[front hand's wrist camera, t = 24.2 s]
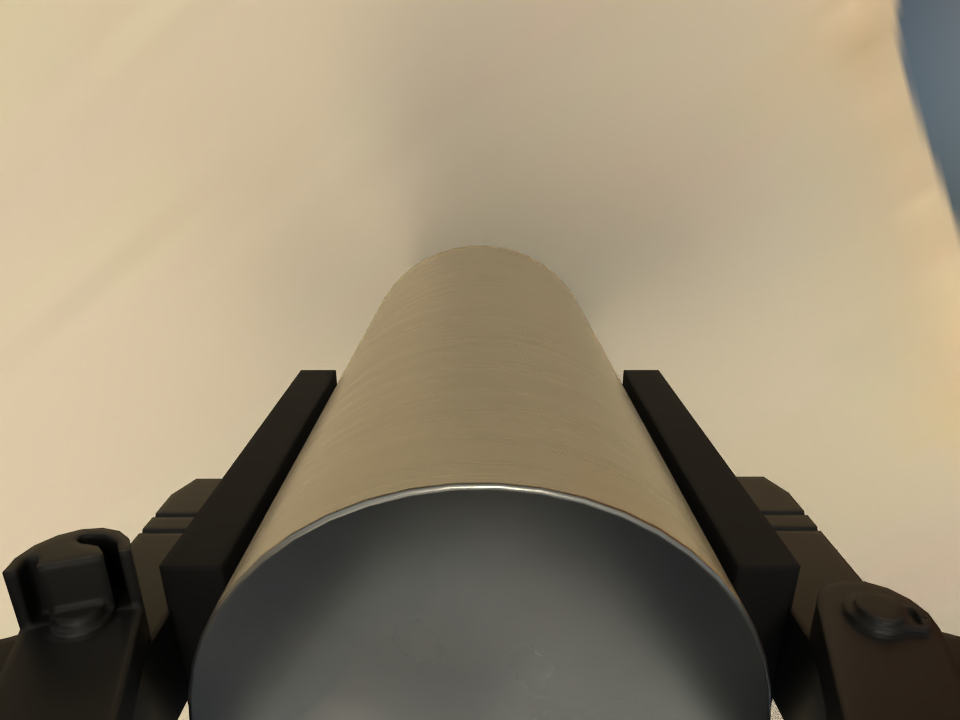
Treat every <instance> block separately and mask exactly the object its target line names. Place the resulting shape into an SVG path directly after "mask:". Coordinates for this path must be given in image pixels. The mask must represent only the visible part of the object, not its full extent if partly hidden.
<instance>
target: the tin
mask: <svg viewBox="0 0 960 720" xmlns="http://www.w3.org/2000/svg"><path fill="white" fill-rule="evenodd" d="M188 703H189V720H770V718H771V684H770V678H769V672H768V666H767V659H766V655H765V653H764V650H763V647H762V644H761V641H760V639H759V636H758V633H757V630H756V628H755V626H754V624H753V622H752V620H751V619H750V617H749V615H748V613H747V611H746V609H745V608H744V606H743V604H742V602H741V600H740V598H739V597H738V595H737V593H736V591H735V589H734V588H733V586H732V584H731V582H730V580H729V578H728V577H727V575H726V573H725V571H724V569H723V567H722V566H721V564H720V562H719V560H718V558H717V557H716V555H715V553H714V551H713V549H712V547H711V546H710V544H709V542H708V540H707V538H706V536H705V535H704V533H703V531H702V529H701V527H700V526H699V524H698V522H697V520H696V518H695V516H694V515H693V513H692V511H691V509H690V507H689V505H688V504H687V502H686V500H685V498H684V496H683V495H682V493H681V491H680V489H679V487H678V485H677V484H676V482H675V480H674V478H673V476H672V474H671V473H670V471H669V469H668V467H667V465H666V464H665V462H664V460H663V458H662V456H661V454H660V453H659V451H658V449H657V447H656V445H655V444H654V442H653V440H652V438H651V436H650V434H649V433H648V431H647V429H646V427H645V425H644V423H643V422H642V420H641V418H640V416H639V414H638V413H637V411H636V409H635V407H634V405H633V403H632V402H631V400H630V398H629V396H628V394H627V392H626V391H625V389H624V387H623V385H622V383H621V382H620V380H619V378H618V376H617V374H616V372H615V371H614V369H613V367H612V365H611V363H610V361H609V360H608V358H607V356H606V354H605V352H604V351H603V349H602V347H601V345H600V343H599V341H598V340H597V338H596V336H595V334H594V332H593V330H592V329H591V327H590V325H589V323H588V321H587V320H586V318H585V316H584V314H583V312H582V310H581V309H580V307H579V305H578V303H577V301H576V300H575V298H574V296H573V294H572V293H571V292H570V290H569V289H568V288H567V286H566V285H565V284H564V283H563V282H562V281H561V280H560V279H559V278H558V277H557V276H556V275H555V274H554V273H553V272H552V271H551V270H549V269H548V268H547V267H545V266H544V265H543V264H541V263H539V262H537V261H536V260H534V259H532V258H530V257H528V256H526V255H523V254H521V253H518V252H516V251H512V250H508V249H504V248H500V247H491V246H467V247H461V248H455V249H451V250H448V251H444V252H441V253H438V254H436V255H434V256H431V257H429V258H427V259H425V260H424V261H422V262H420V263H419V264H417V265H415V266H414V267H413V268H411V269H410V270H409V271H408V272H407V273H405V274H404V275H403V276H402V277H401V278H400V279H399V280H398V281H397V282H396V283H395V284H394V285H393V287H392V288H391V290H390V291H389V292H388V294H387V295H386V297H385V298H384V300H383V302H382V304H381V306H380V307H379V309H378V311H377V313H376V315H375V317H374V318H373V320H372V322H371V324H370V326H369V328H368V329H367V331H366V333H365V335H364V337H363V338H362V340H361V342H360V344H359V346H358V348H357V349H356V351H355V353H354V355H353V357H352V358H351V360H350V362H349V364H348V366H347V368H346V369H345V371H344V373H343V375H342V377H341V379H340V380H339V382H338V384H337V386H336V388H335V389H334V391H333V393H332V395H331V397H330V399H329V400H328V402H327V404H326V406H325V408H324V410H323V411H322V413H321V415H320V417H319V419H318V420H317V422H316V424H315V426H314V428H313V430H312V431H311V433H310V435H309V437H308V439H307V441H306V442H305V444H304V446H303V448H302V450H301V451H300V453H299V455H298V457H297V459H296V461H295V462H294V464H293V466H292V468H291V470H290V471H289V473H288V475H287V477H286V479H285V481H284V482H283V484H282V486H281V488H280V490H279V492H278V493H277V495H276V497H275V499H274V501H273V502H272V504H271V506H270V508H269V510H268V512H267V513H266V515H265V517H264V519H263V521H262V523H261V524H260V526H259V528H258V530H257V532H256V533H255V535H254V537H253V539H252V541H251V543H250V544H249V546H248V548H247V550H246V552H245V554H244V555H243V557H242V559H241V561H240V563H239V564H238V566H237V568H236V570H235V572H234V574H233V575H232V577H231V579H230V581H229V583H228V584H227V586H226V588H225V590H224V592H223V594H222V595H221V597H220V599H219V601H218V603H217V605H216V606H215V608H214V610H213V612H212V614H211V616H210V618H209V620H208V622H207V624H206V626H205V628H204V630H203V632H202V634H201V636H200V639H199V642H198V645H197V649H196V652H195V655H194V658H193V662H192V666H191V674H190V682H189V691H188Z"/></svg>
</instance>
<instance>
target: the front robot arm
mask: <svg viewBox="0 0 960 720" xmlns="http://www.w3.org/2000/svg"><path fill="white" fill-rule="evenodd" d="M336 386H337V379H336V370H301V371H300V372H299V374H298V375H297V377H296V378H295V379H294V381H293V382H292V383H291V385H290V386H289V388H288V389H287V390H286V392H285V393H284V394H283V396H282V397H281V399H280V400H279V401H278V403H277V404H276V405H275V407H274V408H273V410H272V411H271V412H270V414H269V415H268V416H267V418H266V419H265V421H264V422H263V423H262V425H261V426H260V427H259V429H258V430H257V432H256V433H255V434H254V436H253V437H252V438H251V440H250V441H249V443H248V444H247V445H246V447H245V448H244V449H243V451H242V452H241V454H240V455H239V456H238V458H237V459H236V460H235V462H234V463H233V465H232V466H231V467H230V469H229V470H228V471H227V473H226V474H225V476H224V477H223V478H222V479H195V480H194V481H192V482H191V483H189V484H188V485H186V486H184V487H183V488H181V489H180V490H178V491H177V492H175V493H173V494H172V495H171V496H170V497H169V498H168V499H167V501H166V502H165V503H164V504H163V505H162V507H161V508H160V509H159V510H158V511H157V513H156V517H153V518H152V519H151V520H150V521H149V522H148V524H147V525H146V526H145V527H144V528H143V532H142V533H139V534H138V536H137V537H136V538H135V539H134V540H133V542H132V543H131V544H130V540H129V538H128V537H126V536H125V535H124V534H123V533H121V532H120V531H116V530H111V529H106V528H94V529H81V530H77V531H73V532H69V533H65V534H61V535H58V536H55V537H53V538H51V539H48V540H46V541H44V542H41V543H39V544H37V545H34V546H33V547H31V548H30V549H28V550H27V551H25V552H24V553H22V554H21V555H19V556H18V557H16V558H15V559H14V560H13V561H12V562H11V563H10V565H9V566H8V567H7V568H6V569H5V570H4V571H3V573H2V574H3V577H4V580H5V583H6V586H7V589H8V592H9V596H10V599H11V602H12V605H13V608H14V611H15V614H16V618H17V621H18V624H19V627H20V631H19V634H18V635H16V636H12V637H9V638H5V639H0V720H178V718H179V716H180V714H181V712H182V710H183V708H184V706H185V704H186V702H187V701H188V691H189V682H190V674H191V666H192V662H193V658H194V655H195V652H196V649H197V645H198V642H199V639H200V636H201V634H202V632H203V630H204V628H205V626H206V624H207V622H208V620H209V618H210V616H211V614H212V612H213V610H214V608H215V606H216V605H217V603H218V601H219V599H220V597H221V595H222V594H223V592H224V590H225V588H226V586H227V584H228V583H229V581H230V579H231V577H232V575H233V574H234V572H235V570H236V568H237V566H238V564H239V563H240V561H241V559H242V557H243V555H244V554H245V552H246V550H247V548H248V546H249V544H250V543H251V541H252V539H253V537H254V535H255V533H256V532H257V530H258V528H259V526H260V524H261V523H262V521H263V519H264V517H265V515H266V513H267V512H268V510H269V508H270V506H271V504H272V502H273V501H274V499H275V497H276V495H277V493H278V492H279V490H280V488H281V486H282V484H283V482H284V481H285V479H286V477H287V475H288V473H289V471H290V470H291V468H292V466H293V464H294V462H295V461H296V459H297V457H298V455H299V453H300V451H301V450H302V448H303V446H304V444H305V442H306V441H307V439H308V437H309V435H310V433H311V431H312V430H313V428H314V426H315V424H316V422H317V420H318V419H319V417H320V415H321V413H322V411H323V410H324V408H325V406H326V404H327V402H328V400H329V399H330V397H331V395H332V393H333V391H334V389H335V388H336ZM623 387H624V389H625V391H626V392H627V394H628V396H629V398H630V400H631V402H632V403H633V405H634V407H635V409H636V411H637V413H638V414H639V416H640V418H641V420H642V422H643V423H644V425H645V427H646V429H647V431H648V433H649V434H650V436H651V438H652V440H653V442H654V444H655V445H656V447H657V449H658V451H659V453H660V454H661V456H662V458H663V460H664V462H665V464H666V465H667V467H668V469H669V471H670V473H671V474H672V476H673V478H674V480H675V482H676V484H677V485H678V487H679V489H680V491H681V493H682V495H683V496H684V498H685V500H686V502H687V504H688V505H689V507H690V509H691V511H692V513H693V515H694V516H695V518H696V520H697V522H698V524H699V526H700V527H701V529H702V531H703V533H704V535H705V536H706V538H707V540H708V542H709V544H710V546H711V547H712V549H713V551H714V553H715V555H716V557H717V558H718V560H719V562H720V564H721V566H722V567H723V569H724V571H725V573H726V575H727V577H728V578H729V580H730V582H731V584H732V586H733V588H734V589H735V591H736V593H737V595H738V597H739V598H740V600H741V602H742V604H743V606H744V608H745V609H746V611H747V613H748V615H749V617H750V619H751V620H752V622H753V624H754V626H755V628H756V630H757V633H758V636H759V639H760V641H761V644H762V647H763V650H764V653H765V655H766V659H767V666H768V672H769V678H770V684H771V703H772V699H773V700H774V702H775V704H776V706H777V708H778V709H779V711H780V713H781V715H782V717H783V719H784V720H960V637H959V636H955V635H951V634H947V633H944V632H941V630H940V628H939V627H938V626H937V624H936V623H935V622H934V620H933V619H932V618H931V616H930V615H929V614H928V613H927V612H926V611H925V610H923V609H922V608H921V607H919V606H918V605H917V604H915V603H914V602H913V601H912V600H910V599H908V598H906V597H904V596H902V595H900V594H898V593H896V592H894V591H892V590H890V589H888V588H885V587H882V586H878V585H875V584H871V583H868V582H863V581H862V580H861V578H860V577H859V576H858V575H857V574H856V573H855V571H854V570H853V569H852V568H851V567H850V565H849V564H848V563H847V562H846V561H845V559H844V558H843V557H842V556H841V555H840V553H839V552H838V551H837V550H836V549H835V547H834V546H833V545H832V544H831V543H830V542H829V540H828V539H827V538H826V537H825V536H824V534H823V533H822V532H821V531H818V530H817V526H816V525H815V524H814V522H813V521H812V520H811V519H810V518H809V516H808V515H805V514H804V510H803V509H802V508H801V507H800V506H799V505H798V503H797V502H796V501H795V500H794V499H793V497H792V496H791V495H790V494H789V493H788V492H787V491H785V490H784V489H782V488H780V487H779V486H777V485H776V484H774V483H773V482H771V481H769V480H768V479H766V478H765V477H736V476H735V475H734V473H733V472H732V471H731V469H730V468H729V467H728V465H727V464H726V462H725V461H724V460H723V458H722V457H721V456H720V454H719V453H718V451H717V450H716V449H715V447H714V446H713V445H712V443H711V442H710V440H709V439H708V438H707V436H706V435H705V434H704V432H703V431H702V429H701V428H700V427H699V425H698V424H697V423H696V421H695V420H694V418H693V417H692V416H691V414H690V413H689V412H688V410H687V409H686V407H685V406H684V405H683V403H682V402H681V401H680V399H679V398H678V396H677V395H676V394H675V392H674V391H673V390H672V388H671V387H670V385H669V384H668V383H667V381H666V380H665V378H664V377H663V376H662V374H661V373H660V372H659V370H624V374H623ZM188 705H189V703H188Z"/></svg>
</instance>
